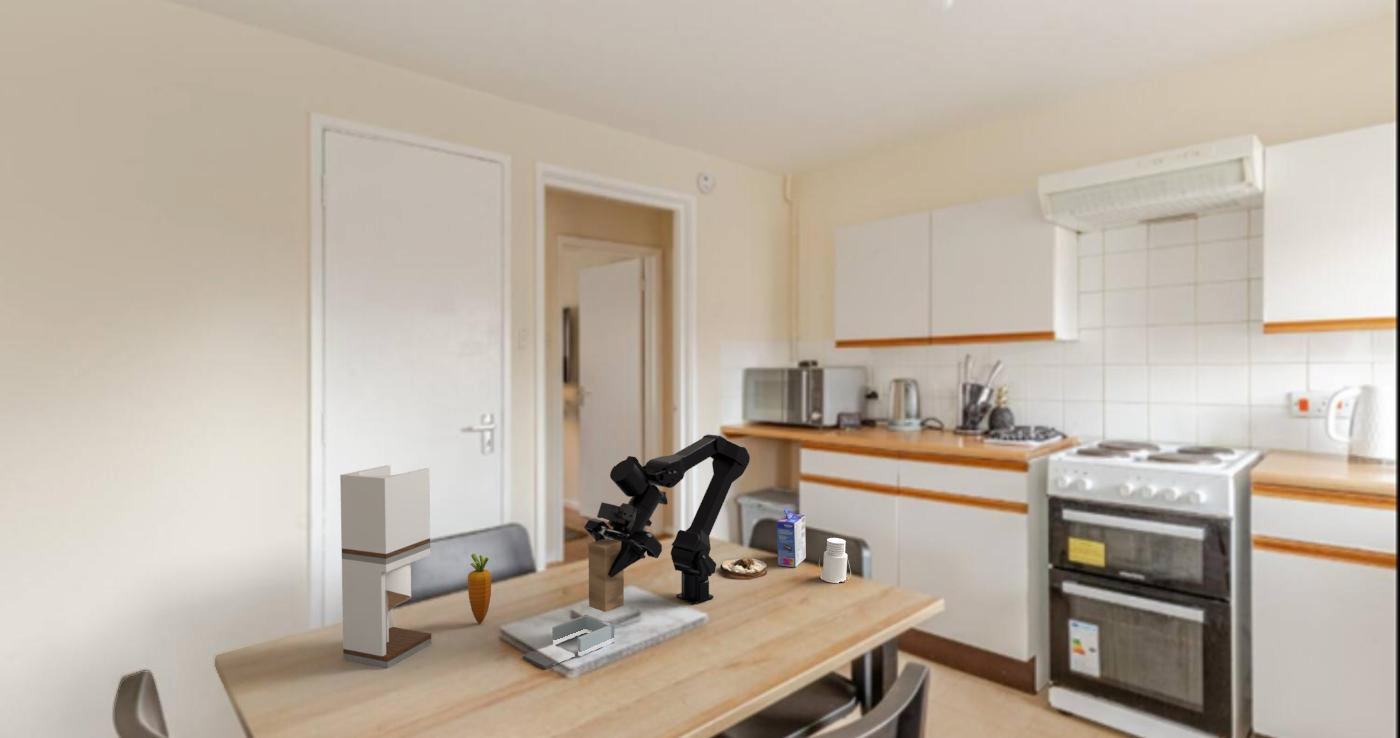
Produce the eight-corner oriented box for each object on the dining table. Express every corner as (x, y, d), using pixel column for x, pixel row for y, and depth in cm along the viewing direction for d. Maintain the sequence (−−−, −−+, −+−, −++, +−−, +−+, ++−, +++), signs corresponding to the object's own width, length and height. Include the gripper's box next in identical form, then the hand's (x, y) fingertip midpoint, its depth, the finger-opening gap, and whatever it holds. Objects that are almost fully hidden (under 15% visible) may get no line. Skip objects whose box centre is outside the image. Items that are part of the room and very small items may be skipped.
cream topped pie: (714, 564, 192) (714, 549, 192) (769, 564, 192) (769, 549, 191) (715, 582, 177) (715, 566, 177) (774, 582, 177) (774, 566, 177)
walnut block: (607, 599, 147) (607, 538, 147) (623, 605, 144) (623, 542, 144) (589, 606, 144) (588, 543, 143) (605, 612, 140) (604, 547, 140)
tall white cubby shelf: (387, 668, 129) (384, 478, 128) (343, 659, 133) (340, 474, 131) (431, 643, 140) (429, 468, 138) (389, 636, 143) (386, 465, 142)
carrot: (496, 623, 150) (496, 553, 149) (475, 630, 146) (474, 558, 146) (484, 617, 153) (483, 549, 153) (463, 623, 149) (462, 554, 149)
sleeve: (586, 631, 146) (586, 614, 145) (614, 642, 140) (614, 625, 140) (520, 657, 133) (520, 638, 133) (548, 670, 128) (548, 651, 128)
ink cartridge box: (787, 555, 198) (787, 504, 198) (806, 558, 196) (806, 506, 196) (776, 565, 189) (776, 512, 189) (795, 568, 187) (796, 514, 187)
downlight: (818, 582, 176) (820, 542, 175) (818, 573, 182) (820, 535, 182) (851, 585, 174) (853, 545, 174) (849, 576, 181) (851, 538, 181)
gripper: (590, 481, 152) (549, 543, 144) (651, 493, 140) (610, 561, 132) (617, 511, 158) (579, 571, 150) (678, 524, 146) (641, 591, 138)
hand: (601, 573), depth 143 cm, fingers closed on walnut block, 5 cm apart
